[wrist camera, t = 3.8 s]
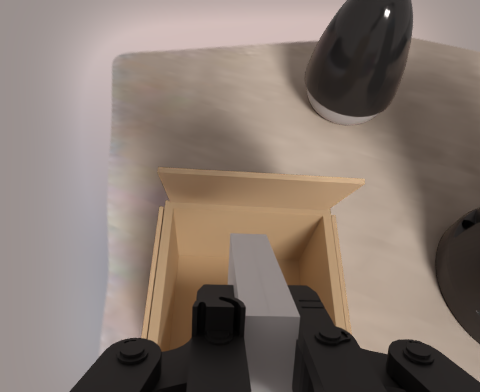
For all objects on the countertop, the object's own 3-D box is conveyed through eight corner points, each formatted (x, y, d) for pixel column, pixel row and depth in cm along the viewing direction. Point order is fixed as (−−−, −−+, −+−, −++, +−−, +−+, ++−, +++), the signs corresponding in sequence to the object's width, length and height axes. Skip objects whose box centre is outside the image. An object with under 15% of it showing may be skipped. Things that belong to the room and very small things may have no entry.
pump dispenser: (368, 77, 51) (425, -47, 38) (391, 138, 45) (466, 19, 32) (291, 76, 49) (323, -51, 37) (305, 139, 44) (348, 16, 31)
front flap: (327, 210, 28) (326, 206, 28) (364, 184, 21) (364, 178, 21) (170, 202, 27) (170, 198, 27) (157, 172, 21) (158, 166, 21)
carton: (307, 257, 36) (335, 209, 29) (320, 408, 30) (361, 398, 22) (168, 251, 35) (159, 200, 28) (150, 406, 29) (132, 393, 21)
